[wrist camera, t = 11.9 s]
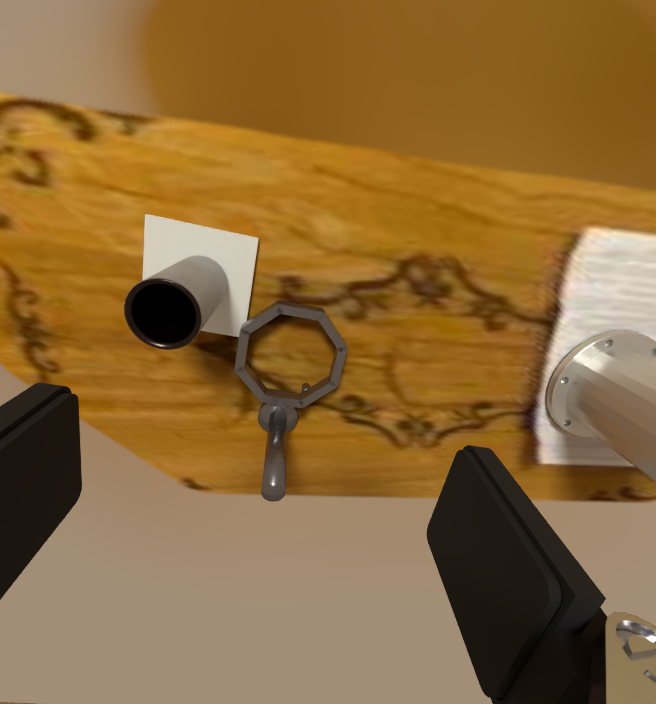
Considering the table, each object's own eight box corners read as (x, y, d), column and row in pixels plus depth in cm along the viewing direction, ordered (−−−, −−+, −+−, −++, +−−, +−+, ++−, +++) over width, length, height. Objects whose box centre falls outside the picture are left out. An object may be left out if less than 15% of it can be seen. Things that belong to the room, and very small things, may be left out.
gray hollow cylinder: (198, 316, 33) (160, 363, 23) (162, 274, 31) (106, 305, 22) (239, 288, 32) (217, 324, 23) (205, 244, 31) (166, 262, 21)
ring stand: (350, 310, 34) (375, 355, 24) (319, 436, 40) (329, 517, 29) (247, 290, 33) (228, 330, 23) (228, 425, 38) (206, 506, 28)
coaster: (259, 238, 31) (258, 238, 31) (244, 335, 34) (244, 338, 34) (147, 214, 30) (145, 214, 29) (143, 318, 33) (141, 320, 32)
